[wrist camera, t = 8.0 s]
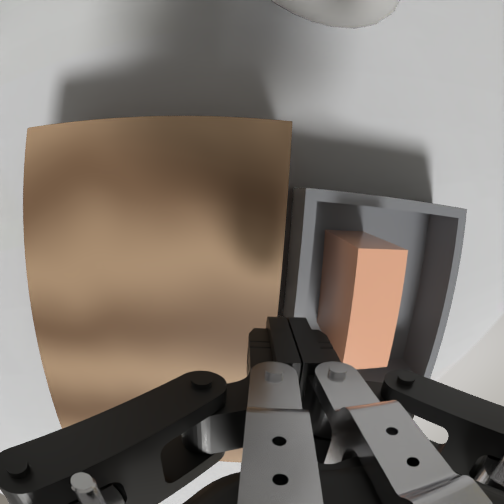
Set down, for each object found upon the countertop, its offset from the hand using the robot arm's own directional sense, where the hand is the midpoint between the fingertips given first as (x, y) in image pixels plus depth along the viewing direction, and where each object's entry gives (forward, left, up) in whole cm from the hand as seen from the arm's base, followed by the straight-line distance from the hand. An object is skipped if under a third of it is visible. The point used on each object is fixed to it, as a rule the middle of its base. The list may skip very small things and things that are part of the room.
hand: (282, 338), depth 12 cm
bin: (0, +6, -8) cm, 10 cm away
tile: (0, +3, -5) cm, 6 cm away
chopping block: (+1, -7, -8) cm, 11 cm away
